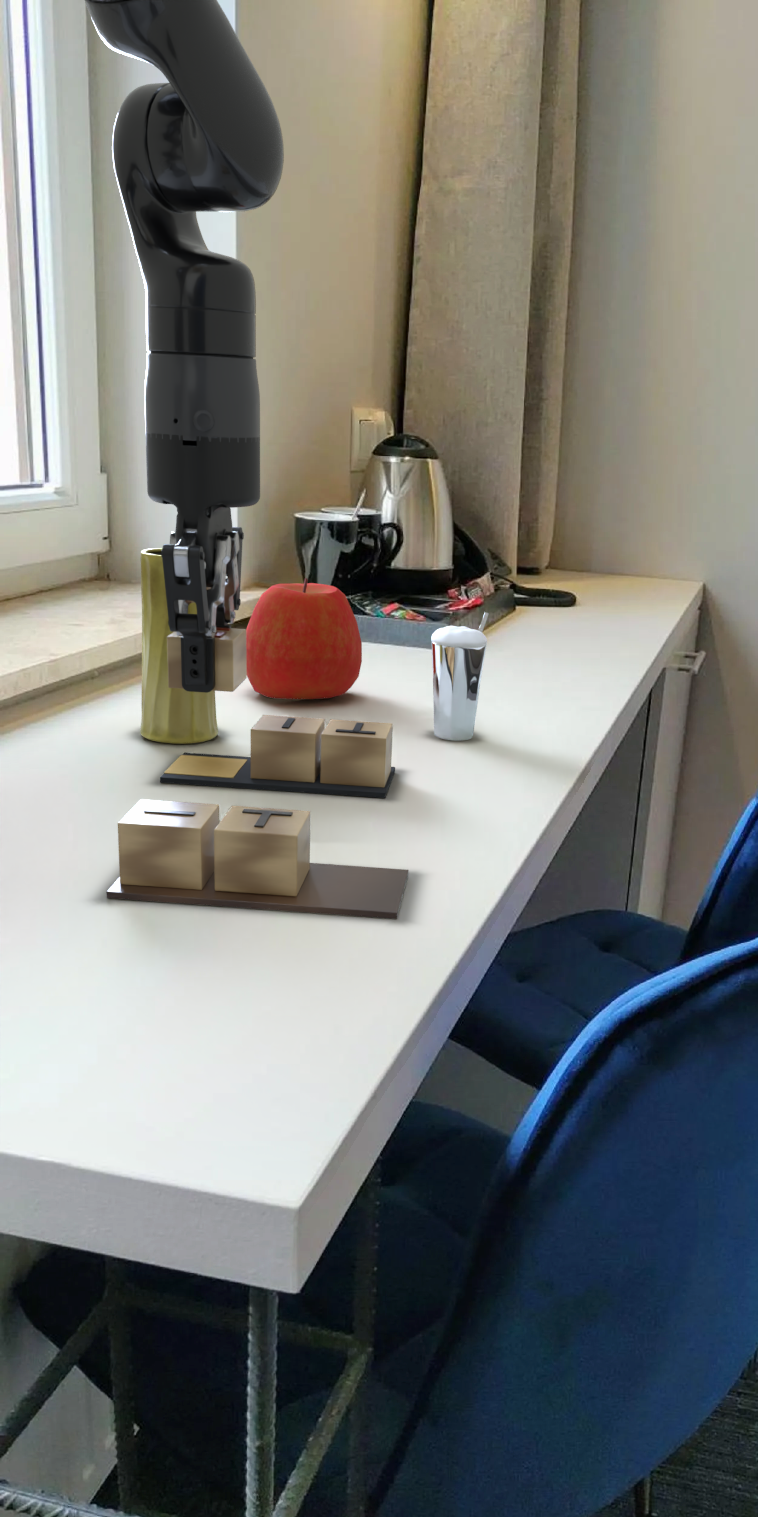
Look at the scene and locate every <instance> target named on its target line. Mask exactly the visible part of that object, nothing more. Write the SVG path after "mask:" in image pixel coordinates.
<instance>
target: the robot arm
mask: <svg viewBox="0 0 758 1517" xmlns="http://www.w3.org/2000/svg"><path fill="white" fill-rule="evenodd" d="M84 3H85V5H86V8H87V10H88V14H89V15H90V18H91V21H92V23H93V26H94V27H95V30H96V32H97V34H98V36H99V37H100V39H101V40H102V41H103V43H104V44H105V45H106V46H107V47H108V48H109V49H111V50H112V51H114V52H116V53H118V54H122V55H124V56H127V57H130V58H134V59H137V60H140V61H143V62H146V63H147V64H150V65H152V66H154V67H155V68H157V69H158V70H159V71H160V72H161V73H162V74H163V76H164V77H165V78H166V80H167V81H168V82H155V83H147V84H143V85H139V86H137V87H135V89H133V90H132V91H131V92H129V93H128V94H127V96H126V97H125V98H124V100H123V101H122V103H121V105H120V107H119V109H118V111H117V114H116V118H115V122H114V125H113V132H112V140H111V141H112V146H111V150H112V162H113V170H114V173H115V177H116V182H117V186H118V189H119V193H120V197H121V201H122V204H123V208H124V212H125V216H126V219H127V223H128V226H129V230H130V234H131V237H132V241H133V245H134V246H133V247H134V249H135V254H136V256H137V259H138V264H139V267H140V272H141V276H142V279H143V284H144V289H145V290H144V291H145V335H146V338H145V339H146V340H145V341H146V351H147V353H146V369H145V379H144V386H143V387H144V391H143V392H144V395H143V396H144V397H143V398H144V423H145V425H144V426H145V460H146V487H147V488H146V489H147V490H146V491H147V496H148V497H149V499H151V500H152V501H153V502H155V503H158V504H162V505H173V506H175V508H176V512H177V514H176V518H175V519H176V520H175V530H174V531H175V532H174V531H171V533H170V535H169V543H163V545H162V547H161V548H162V550H161V557H162V561H163V571H164V581H165V590H166V600H167V610H168V625H169V628H170V631H173V632H176V633H177V636H182V637H181V673H182V687H183V689H184V690H186V691H189V692H205V693H208V692H210V691H212V690H213V689H214V687H215V638H214V636H215V633H216V627H220V628H232V624H234V623H235V619H236V611H239V610H240V606H241V604H242V602H241V600H242V599H241V580H242V562H243V560H242V558H243V540H244V539H245V538H244V537H245V534H244V531H243V527H242V526H233V519H232V509H231V508H234V509H235V508H247V507H252V506H254V505H256V504H258V503H259V502H260V499H261V393H260V385H259V377H258V370H257V360H256V357H257V327H256V326H257V323H256V322H257V317H256V314H257V313H256V312H257V297H256V296H257V295H256V293H257V292H256V283H255V277H254V275H253V273H252V271H251V268H250V267H249V266H248V265H247V264H246V263H244V262H243V261H241V260H239V259H237V258H234V257H232V256H228V255H225V254H222V253H218V252H214V251H211V250H210V249H209V248H208V246H207V244H206V242H205V240H204V237H203V235H202V232H201V229H200V225H199V222H198V217H197V213H198V212H200V213H201V212H203V213H205V212H206V213H207V212H208V213H209V212H211V213H213V212H219V213H222V212H223V213H229V212H230V213H231V212H232V213H234V212H235V213H237V212H248V211H249V212H250V211H254V210H256V209H259V208H261V207H263V206H264V205H266V204H267V203H268V202H269V201H270V200H271V199H272V197H273V196H274V195H275V193H276V191H277V190H278V187H279V184H280V182H281V179H282V176H283V175H282V174H283V168H284V161H285V150H284V149H285V148H284V139H283V138H284V137H283V131H282V127H281V123H280V120H279V116H278V114H277V110H276V108H275V105H274V102H273V101H272V98H271V96H270V93H269V92H268V90H267V88H266V86H265V84H264V82H263V80H262V78H261V76H260V74H259V73H258V71H257V69H256V67H255V66H254V64H253V62H252V60H251V59H250V57H249V55H248V53H247V51H246V50H245V48H244V46H243V44H242V43H241V41H240V39H239V37H238V36H237V33H236V31H235V30H234V27H233V26H232V24H231V22H230V20H229V18H228V16H227V15H226V13H225V12H224V9H223V8H222V6H221V5H220V3H219V1H218V0H84ZM226 577H227V578H226ZM190 603H196V607H197V614H188V606H189V604H190Z"/></svg>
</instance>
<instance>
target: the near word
mask: <svg viewBox="0 0 758 1517" xmlns="http://www.w3.org/2000/svg"><path fill="white" fill-rule="evenodd" d="M311 815H312V814H311V811H310V810H301V809H300V810H299V809H286V808H271V807H257V806H246V805H245V806H243V805H231V806H230V808H228V810H227V811H226V813H225V815H224V816H223V817H222V818H221V819H220V804H217V803H202V802H191V801H189V802H188V801H174V800H161V799H145V798H141V799H139V800H138V801H137V802H136V803H135V804H134V805H133V807H131V809H129V811H127V813H126V814H125V815H124V816H123V817H122V818H121V819H119V821H118V822H117V841H118V844H117V845H118V869H119V871H118V872H119V876H118V877H117V879H115V881H114V882H113V884H111V886H110V887H109V888H108V889H107V890H106V899H113V900H114V899H115V900H116V899H117V900H127V901H143V902H158V903H171V904H182V905H183V904H185V905H197V906H212V907H226V908H238V909H239V908H241V909H253V910H255V909H256V910H268V911H278V912H279V911H280V912H281V911H282V912H296V913H306V914H307V913H310V914H321V915H322V914H324V915H337V916H349V917H351V916H352V917H365V918H378V919H389V920H390V919H392V920H397V919H398V916H399V913H400V909H401V905H402V901H403V897H404V893H405V890H406V886H407V882H408V878H409V872H410V871H409V869H404V868H403V869H402V868H389V867H373V866H360V865H348V864H345V865H344V864H333V863H332V864H331V863H317V862H310V861H311V818H312V817H311Z"/></svg>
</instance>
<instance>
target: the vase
mask: <svg viewBox="0 0 758 1517" xmlns="http://www.w3.org/2000/svg"><path fill="white" fill-rule="evenodd" d="M162 548H163V547H155V548H153V547H151V548H146V549H142V550H141V551H140V579H141V580H140V583H141V584H140V586H141V587H140V588H141V590H140V591H141V592H140V593H141V721H140V729H139V730H140V731H139V733H140V735H141V736H142V737H143V738H145V739H147V740H148V741H152V742H157V743H163V744H171V745H172V744H174V745H183V744H184V745H185V744H186V745H189V744H196V743H197V744H198V743H203V742H207V741H210V740H213V739H215V738H216V737H217V736H218V734H219V726H218V720H217V708H216V707H217V704H216V703H217V702H216V691H210V692H208V693H205V692H189V691H186V690H184V689H180V688H169V687H168V656H167V636H169V635H170V634H171V633H173V631H170V628H169V625H168V610H167V600H166V590H165V581H164V571H163V561H162V557H161V550H162ZM188 614H197V607H196V603H190V604H189V606H188Z"/></svg>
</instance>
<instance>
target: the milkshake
mask: <svg viewBox="0 0 758 1517" xmlns="http://www.w3.org/2000/svg"><path fill="white" fill-rule="evenodd" d="M489 615H490V614H489V612H485V611H484V614H483V616H482V619H481V622H480V625H479V628H478V629H476V628H475V629H473V628H469V627H468V626H464V625H463V626H456V625H447V626H444V627H439V628H437V629H435V631H434V632H432V634H431V637H430V640H431V642H430V643H431V644H430V645H431V661H432V662H431V663H432V695H433V697H432V700H433V701H432V702H433V736H435V737H436V738H439V739H440V740H446V741H455V742H457V741H459V742H460V741H461V742H462V741H463V742H464V741H468V740H471V739H472V738H473V737H474V732H475V725H476V719H477V718H476V717H477V712H478V703H479V695H480V689H481V680H482V674H483V668H484V662H485V657H486V651H487V644H488V638H487V636H486V635H485V634H484V632H483V631H484V628H485V626H486V623H487V620H488V617H489Z"/></svg>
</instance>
